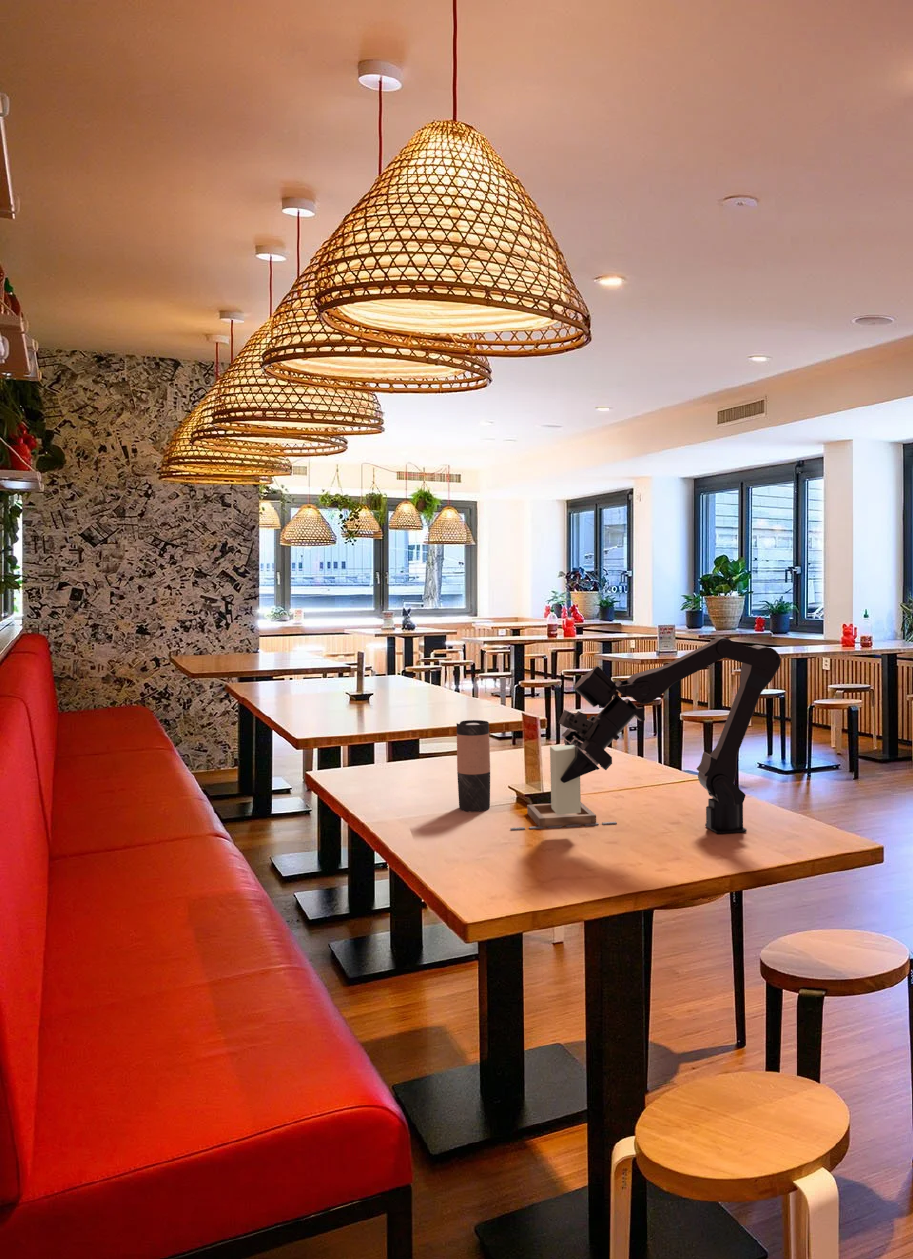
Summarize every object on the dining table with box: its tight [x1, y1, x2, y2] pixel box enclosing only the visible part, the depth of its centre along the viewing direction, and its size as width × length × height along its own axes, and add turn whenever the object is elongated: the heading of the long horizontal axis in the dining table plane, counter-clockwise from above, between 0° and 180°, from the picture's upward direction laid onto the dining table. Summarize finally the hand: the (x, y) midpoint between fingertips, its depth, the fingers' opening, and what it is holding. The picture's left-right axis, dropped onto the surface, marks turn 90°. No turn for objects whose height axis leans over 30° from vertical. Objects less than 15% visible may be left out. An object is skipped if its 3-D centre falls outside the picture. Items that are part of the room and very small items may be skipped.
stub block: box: [549, 744, 582, 814], centre depth 193 cm, size 5×5×13 cm
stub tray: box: [526, 802, 597, 829], centre depth 207 cm, size 12×12×2 cm
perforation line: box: [510, 821, 618, 831], centre depth 200 cm, size 23×1×1 cm, turn 98°
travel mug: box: [456, 719, 491, 812], centre depth 218 cm, size 8×8×20 cm
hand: (558, 778), depth 193 cm, fingers closed on stub block, 5 cm apart
